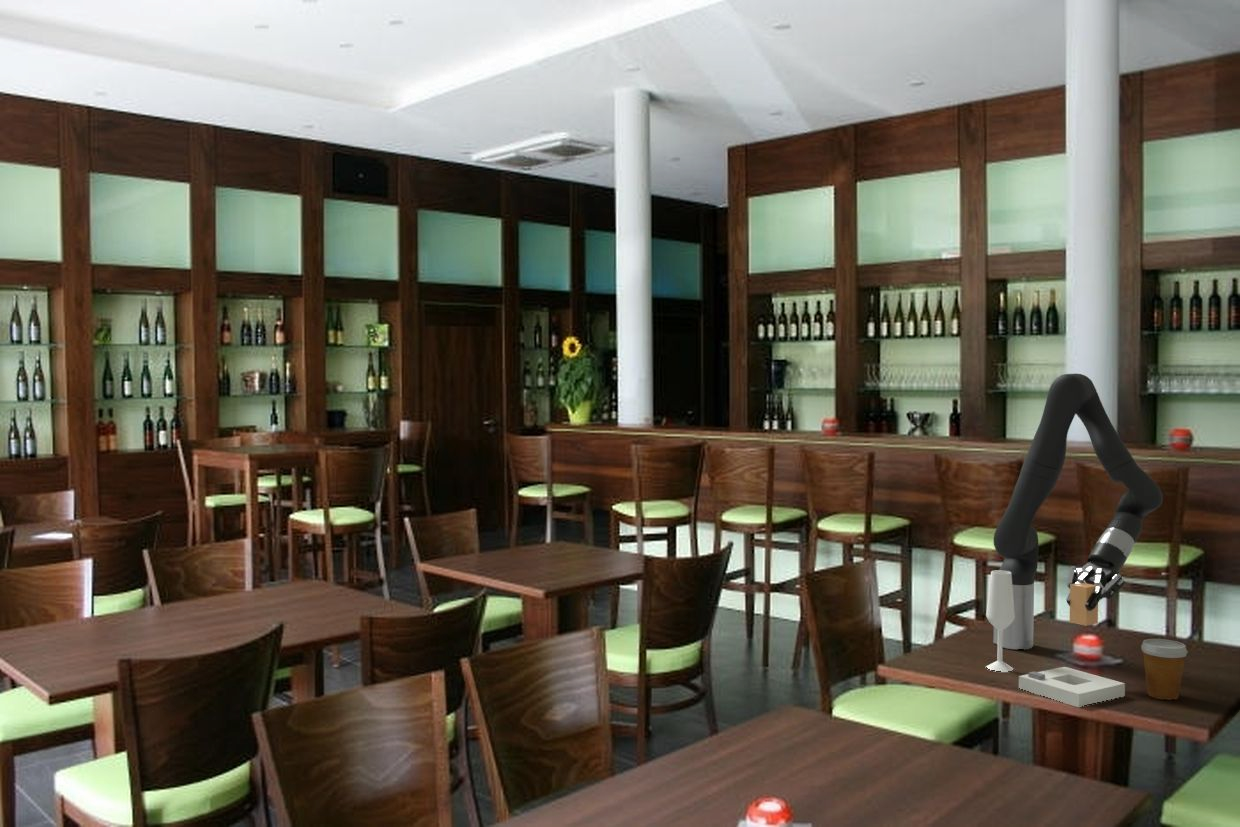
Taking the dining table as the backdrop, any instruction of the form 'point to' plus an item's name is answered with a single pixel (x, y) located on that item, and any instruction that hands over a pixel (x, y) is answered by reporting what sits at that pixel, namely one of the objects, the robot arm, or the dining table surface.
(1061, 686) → the socket plate
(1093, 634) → the dining table surface
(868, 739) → the dining table surface
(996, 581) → the champagne flute
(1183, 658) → the disposable coffee cup
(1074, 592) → the light brown rectangular block
